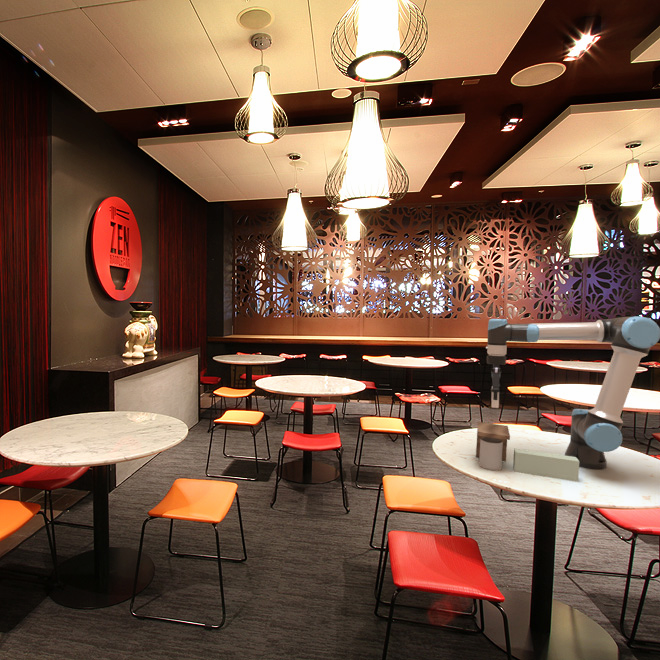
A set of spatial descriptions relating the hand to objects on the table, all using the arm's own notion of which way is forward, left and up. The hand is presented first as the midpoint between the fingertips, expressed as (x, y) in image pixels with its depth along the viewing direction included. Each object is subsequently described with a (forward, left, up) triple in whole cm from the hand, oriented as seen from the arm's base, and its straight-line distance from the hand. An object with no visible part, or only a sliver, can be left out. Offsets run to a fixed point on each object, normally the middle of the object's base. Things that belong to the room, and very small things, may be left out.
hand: (494, 404), depth 164 cm
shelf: (0, +6, -24) cm, 25 cm away
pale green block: (-19, +7, -24) cm, 32 cm away
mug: (+1, +7, -24) cm, 25 cm away
